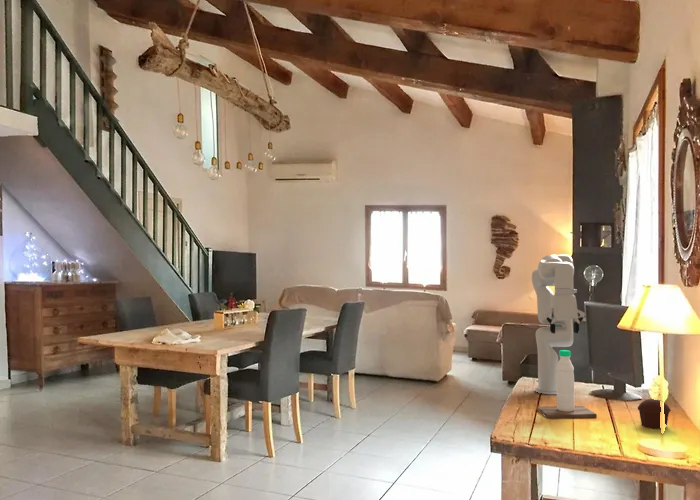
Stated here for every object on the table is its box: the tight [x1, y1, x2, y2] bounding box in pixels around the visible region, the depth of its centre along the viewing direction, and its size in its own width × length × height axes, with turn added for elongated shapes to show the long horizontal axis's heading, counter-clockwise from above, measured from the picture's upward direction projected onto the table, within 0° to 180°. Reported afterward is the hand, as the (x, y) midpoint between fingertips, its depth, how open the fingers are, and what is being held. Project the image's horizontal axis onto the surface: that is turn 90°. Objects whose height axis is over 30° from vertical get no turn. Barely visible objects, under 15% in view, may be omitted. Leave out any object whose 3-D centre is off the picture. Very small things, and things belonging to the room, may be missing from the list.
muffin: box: [637, 398, 672, 430], centre depth 238 cm, size 12×11×10 cm
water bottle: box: [556, 349, 576, 412], centre depth 257 cm, size 7×7×25 cm
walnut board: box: [536, 405, 598, 419], centre depth 257 cm, size 14×20×2 cm
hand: (564, 332), depth 258 cm, fingers open, 9 cm apart
